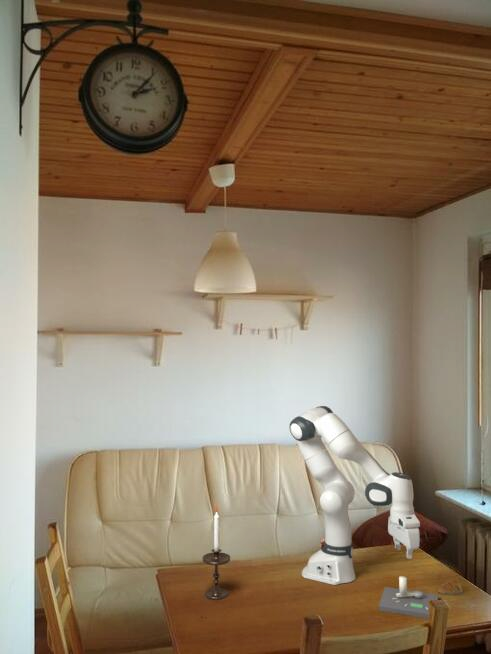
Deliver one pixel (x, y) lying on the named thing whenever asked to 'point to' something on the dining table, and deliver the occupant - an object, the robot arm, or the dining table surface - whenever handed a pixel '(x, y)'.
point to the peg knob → (404, 589)
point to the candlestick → (216, 564)
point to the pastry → (450, 588)
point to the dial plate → (406, 603)
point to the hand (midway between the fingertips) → (403, 553)
